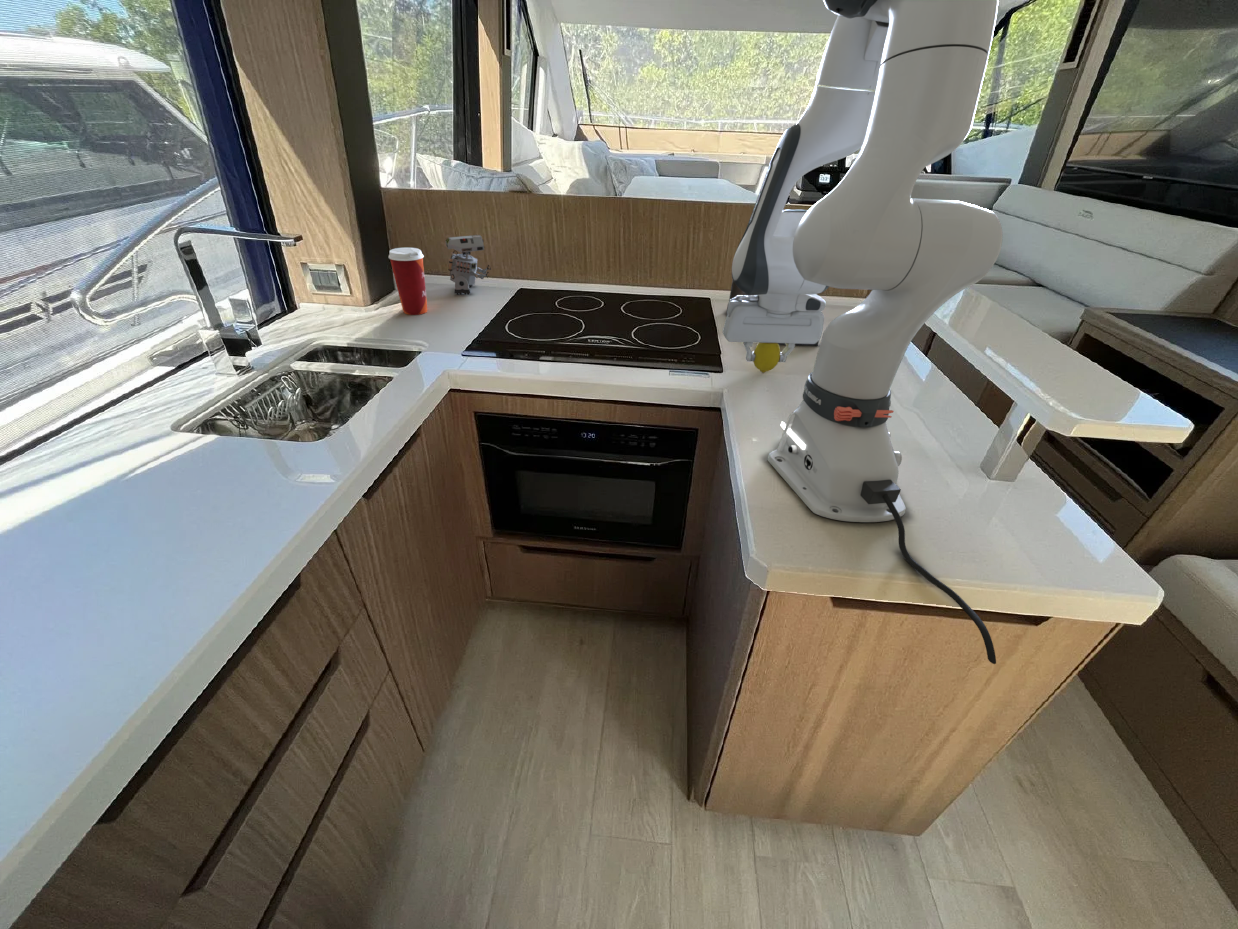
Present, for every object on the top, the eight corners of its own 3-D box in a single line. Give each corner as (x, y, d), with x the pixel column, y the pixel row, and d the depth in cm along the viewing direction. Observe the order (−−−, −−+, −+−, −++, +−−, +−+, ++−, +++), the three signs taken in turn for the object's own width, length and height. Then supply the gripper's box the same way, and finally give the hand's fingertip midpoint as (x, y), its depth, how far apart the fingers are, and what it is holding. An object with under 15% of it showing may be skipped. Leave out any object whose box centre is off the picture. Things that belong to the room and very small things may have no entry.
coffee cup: (438, 311, 137) (429, 251, 129) (409, 318, 132) (398, 256, 123) (420, 304, 141) (410, 245, 133) (392, 310, 136) (380, 249, 128)
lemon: (776, 379, 112) (784, 343, 108) (749, 376, 113) (757, 340, 109) (775, 369, 117) (783, 334, 112) (749, 366, 118) (756, 331, 113)
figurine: (490, 295, 151) (486, 239, 143) (449, 294, 149) (442, 238, 141) (492, 286, 158) (487, 233, 150) (453, 285, 157) (446, 231, 148)
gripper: (733, 299, 102) (721, 365, 110) (834, 303, 104) (815, 367, 112) (725, 290, 107) (715, 353, 115) (822, 293, 109) (805, 356, 117)
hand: (765, 360), depth 113 cm, fingers closed on lemon, 5 cm apart
